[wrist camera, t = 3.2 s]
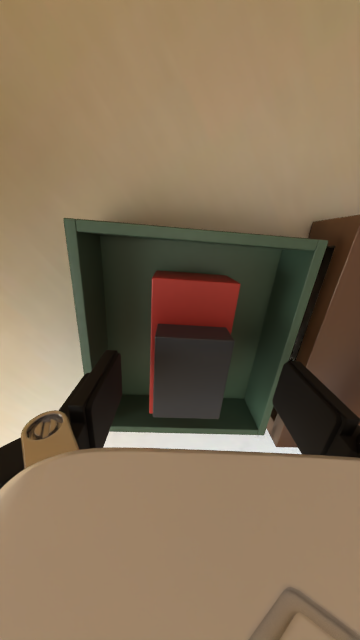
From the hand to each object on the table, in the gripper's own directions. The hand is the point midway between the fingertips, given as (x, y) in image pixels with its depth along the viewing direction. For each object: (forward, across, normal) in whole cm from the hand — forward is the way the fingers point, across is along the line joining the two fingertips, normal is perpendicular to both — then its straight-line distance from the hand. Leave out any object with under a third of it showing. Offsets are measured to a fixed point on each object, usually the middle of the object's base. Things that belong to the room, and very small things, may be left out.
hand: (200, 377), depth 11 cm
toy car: (+6, +1, 0) cm, 6 cm away
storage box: (+6, +1, 0) cm, 6 cm away
